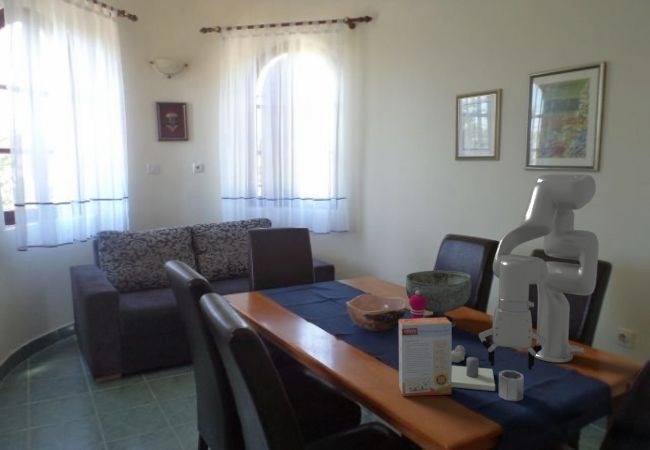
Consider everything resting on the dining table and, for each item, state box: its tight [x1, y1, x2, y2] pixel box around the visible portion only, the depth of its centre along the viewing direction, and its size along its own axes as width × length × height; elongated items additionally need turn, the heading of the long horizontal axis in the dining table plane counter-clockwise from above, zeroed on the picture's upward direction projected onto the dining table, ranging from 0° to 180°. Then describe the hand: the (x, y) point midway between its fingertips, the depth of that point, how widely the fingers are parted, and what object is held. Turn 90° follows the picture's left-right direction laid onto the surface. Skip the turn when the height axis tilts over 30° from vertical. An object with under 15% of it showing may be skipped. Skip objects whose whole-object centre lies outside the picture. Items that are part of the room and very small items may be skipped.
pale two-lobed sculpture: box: [452, 344, 466, 363], centre depth 165 cm, size 4×8×5 cm
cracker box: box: [398, 317, 453, 397], centre depth 142 cm, size 14×6×21 cm, turn 92°
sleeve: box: [498, 369, 525, 402], centre depth 139 cm, size 6×6×6 cm
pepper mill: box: [408, 291, 427, 319], centre depth 177 cm, size 7×7×20 cm
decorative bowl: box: [405, 269, 472, 328], centre depth 200 cm, size 26×26×20 cm
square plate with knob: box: [451, 356, 496, 392], centre depth 149 cm, size 12×12×6 cm
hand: (510, 366), depth 138 cm, fingers open, 9 cm apart
